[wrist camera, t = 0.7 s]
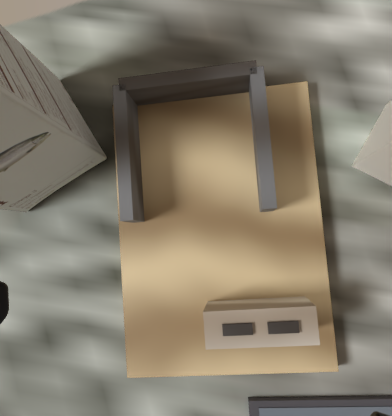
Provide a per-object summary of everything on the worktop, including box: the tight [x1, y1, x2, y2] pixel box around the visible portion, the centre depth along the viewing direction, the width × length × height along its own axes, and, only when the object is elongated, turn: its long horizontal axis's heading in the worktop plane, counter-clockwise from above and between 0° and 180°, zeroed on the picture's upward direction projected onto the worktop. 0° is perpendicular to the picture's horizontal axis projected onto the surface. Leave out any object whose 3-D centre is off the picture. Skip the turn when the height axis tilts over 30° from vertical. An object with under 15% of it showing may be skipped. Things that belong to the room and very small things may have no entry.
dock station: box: [112, 60, 338, 378], centre depth 21 cm, size 18×13×4 cm
